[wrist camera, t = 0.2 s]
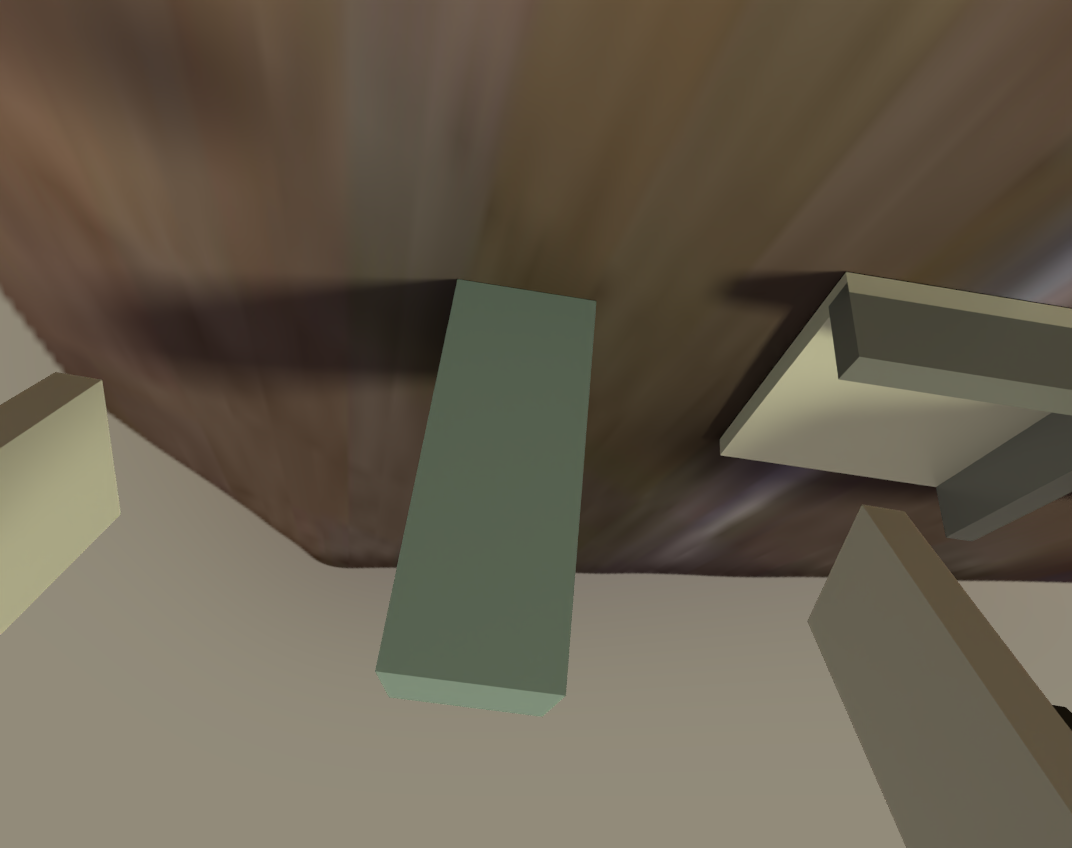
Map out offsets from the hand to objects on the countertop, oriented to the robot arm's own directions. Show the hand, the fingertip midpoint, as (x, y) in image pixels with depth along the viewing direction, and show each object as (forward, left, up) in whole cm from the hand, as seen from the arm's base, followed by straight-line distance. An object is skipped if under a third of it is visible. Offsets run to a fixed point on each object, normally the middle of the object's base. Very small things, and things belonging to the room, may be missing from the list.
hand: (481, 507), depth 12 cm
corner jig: (+14, +19, -15) cm, 28 cm away
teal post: (+14, 0, -15) cm, 21 cm away
